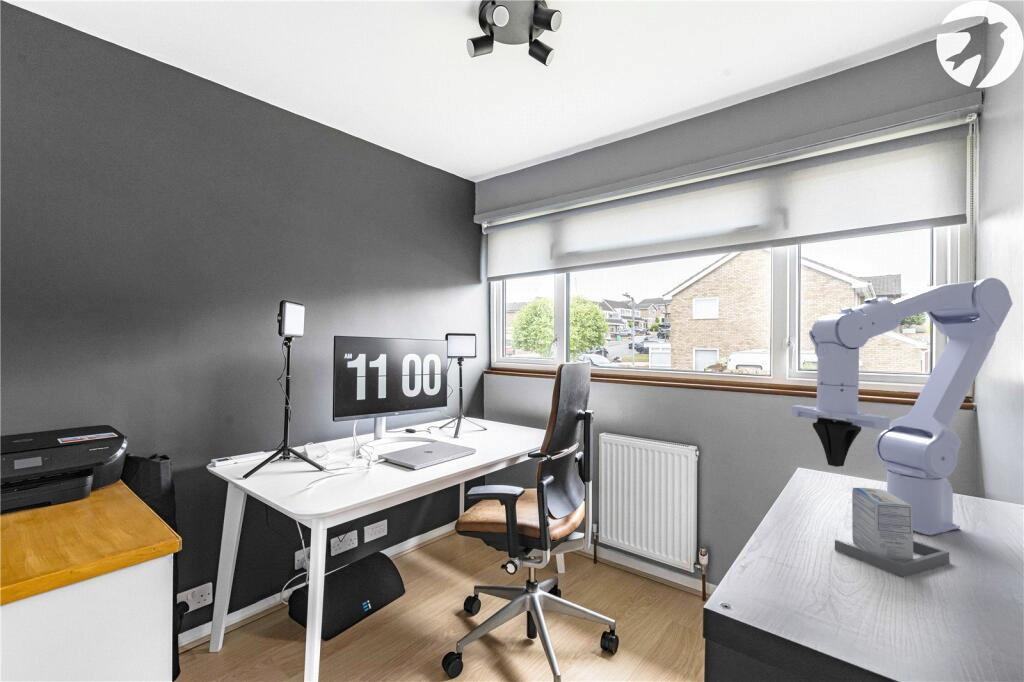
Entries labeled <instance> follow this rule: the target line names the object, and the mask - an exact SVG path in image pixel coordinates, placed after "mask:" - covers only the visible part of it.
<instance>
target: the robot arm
mask: <svg viewBox="0 0 1024 682" xmlns="http://www.w3.org/2000/svg"><path fill="white" fill-rule="evenodd" d="M863 302H864V303H863V304H861V305H858V306H855V307H844V308H842V309H840V312H839V313H838V314H828V315H822V316H821V317H818V318H817V320H816V321H815V322H814V323H813V325H812V327H811V329H810V330H809V331H808V336H809V338H810V341H811V342H812V344H813V347H814V354H815V355H816V357H817V366H816V367H817V368H816V369H817V370H816V371H817V372H816V406H806V405H800V404H799V405H792V406H791V416H792V417H797V418H799V417H801V418H807V419H812V420H816V421H815V422H812V427H813V429H814V431H815V432H816V434H817V436H818V438H819V440H820V442H821V445H822V447H823V451H824V454H825V458H826V461H827V465H828V466H831V467H836V468H838V467H844V465H845V462H846V459H847V455H848V453H849V450H850V448H851V446H852V444H853V442H854V441H855V439H856V437H857V436H858V434H860V433H861V431H862V427H865V428H871V429H874V430H879V431H881V432H880V433H879V434H878V435H877V438H876V439H875V443H874V451H875V454H876V456H877V458H878V459H879V461H881V462H882V467H883V468H885V469H886V491H887V492H889V493H891V494H892V495H894V496H896V497H898V498H899V499H901V500H903V501H904V502H906V503H908V504H909V505H911V506H912V511H913V532H916V533H920V534H923V535H926V536H934V535H937V534H941V533H946V532H948V531H952V530H957V529H960V528H961V525H960V524H959V523H954V513H953V512H954V507H953V506H954V489H953V487H952V484H951V483H950V481H949V480H948V479H949V477H948V476H949V475H951V473H953V472H954V470H955V468H956V466H957V464H958V462H959V461H958V460H959V459H958V457H959V456H958V455H959V450H960V448H961V446H962V445H963V444H962V443H963V442H962V440H961V439H960V437H959V436H958V435H957V434H956V432H955V431H954V430H952V428H951V426H952V424H953V422H954V419H955V418H956V416H957V414H958V413H959V410H960V409H961V407H962V404H963V403H964V401H965V400H966V397H967V395H968V393H969V391H970V389H971V387H972V385H973V383H974V382H975V380H976V379H977V378H976V377H977V376H978V374H979V372H980V371H981V368H982V367H983V364H984V362H985V361H986V359H987V357H988V355H989V353H990V351H991V350H992V348H993V346H994V343H995V342H996V336H997V333H998V332H999V331H1000V329H1001V327H1002V325H1003V323H1004V321H1005V320H1006V319H1007V316H1008V313H1009V312H1010V310H1011V308H1012V307H1013V301H1012V297H1011V294H1010V291H1009V288H1008V287H1007V286H1006V283H1004V282H1003V281H1002V280H1000V279H999V278H996V277H987V278H983V279H978V280H971V281H964V282H956V283H947V284H940V283H939V284H933V285H931V286H927V287H925V286H924V287H922V288H921V289H918V290H916V291H914V292H911V293H909V294H907V295H904V296H902V297H899V298H897V299H895V300H892V301H891V300H889V299H886V298H885V299H884V298H878V297H872V298H871V297H870V298H867V299H866V298H865V299H864V300H863ZM925 312H926V314H927V315H928V317H929V318H930V320H931V321H932V324H934V326H935V327H936V328H937V330H938V331H939V333H940V334H941V335H944V336H945V337H948V341H947V342H946V344H945V346H944V348H943V350H942V352H941V354H940V356H939V358H938V360H937V362H936V363H935V365H934V368H933V369H932V371H931V373H930V375H929V376H928V378H927V380H926V382H925V384H924V386H923V388H922V389H921V392H920V393H919V395H918V397H917V398H916V401H915V403H914V405H913V406H912V408H911V410H910V412H909V413H907V414H906V415H903V416H900V417H897V418H895V419H893V420H891V421H890V419H891V418H890V417H889V416H884V415H883V416H882V415H876V414H871V413H864V412H860V411H859V385H860V384H859V383H860V382H859V373H860V372H859V371H860V370H859V369H860V368H859V367H860V348H863V347H864V346H865V345H866V344H867V342H868V341H869V340H870V339H872V338H875V337H878V336H880V335H883V334H886V333H888V332H889V333H890V332H891V331H894V330H896V329H897V328H898V327H899V326H900V324H901V323H902V320H903V319H907V318H910V317H913V316H915V315H919V314H923V313H925ZM838 418H839V419H838Z"/></svg>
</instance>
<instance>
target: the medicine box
mask: <svg viewBox="0 0 1024 682" xmlns="http://www.w3.org/2000/svg"><path fill="white" fill-rule="evenodd" d="M851 494H852V496H851V497H852V498H851V503H852V506H851V507H852V510H851V511H852V514H851V515H852V518H851V519H852V524H851V525H852V533H851V534H852V535H851V536H852V542H853V543H854V544H855V546H857V547H859V548H862V549H865V550H867V551H870V552H873V553H875V554H878V555H881V556H883V557H886V558H888V559H891V560H894V561H896V562H899V563H902V562H905V561H909V560H912V559H914V552H913V540H914V531H913V511H912V506H911V505H909V504H908V503H906V502H904V501H903V500H901V499H899V498H898V497H896V496H894V495H892V494H891V493H889V492H887V490H886V489H880V488H873V487H871V488H870V487H852V493H851Z"/></svg>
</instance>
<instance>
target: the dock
mask: <svg viewBox="0 0 1024 682" xmlns="http://www.w3.org/2000/svg"><path fill="white" fill-rule="evenodd" d="M834 551H836V552H839V553H842V554H844V555H847V556H849V557H851V558H854V559H856V560H859V561H861V562H864V563H866V564H869V565H871V566H873V567H877V568H878V569H880V570H884V571H886V572H889V573H892V574H894V575H897V576H899V577H902V578H905V577H909V576H911V575H914V574H917V573H918V574H919V573H920V572H921V573H922V572H924V571H927V570H931V569H934V568H937V567H940V566H944V565H948V564H950V551H947V550H944V549H940V548H937V547H935V546H932V545H930V544H926V543H923V542H919V541H916V540H914V539H913V553H916V554H918V555H921V556H919V557H916V558H913V559H912V560H909V561H905V562H902V563H899V562H896V561H894V560H891V559H888V558H886V557H883V556H881V555H878V554H875V553H873V552H870V551H867V550H865V549H862V548H860V547H859V546H858V545H854V544H851V543H849V542H846V541H843V540H841V539H838V538H837V539H834Z"/></svg>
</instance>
